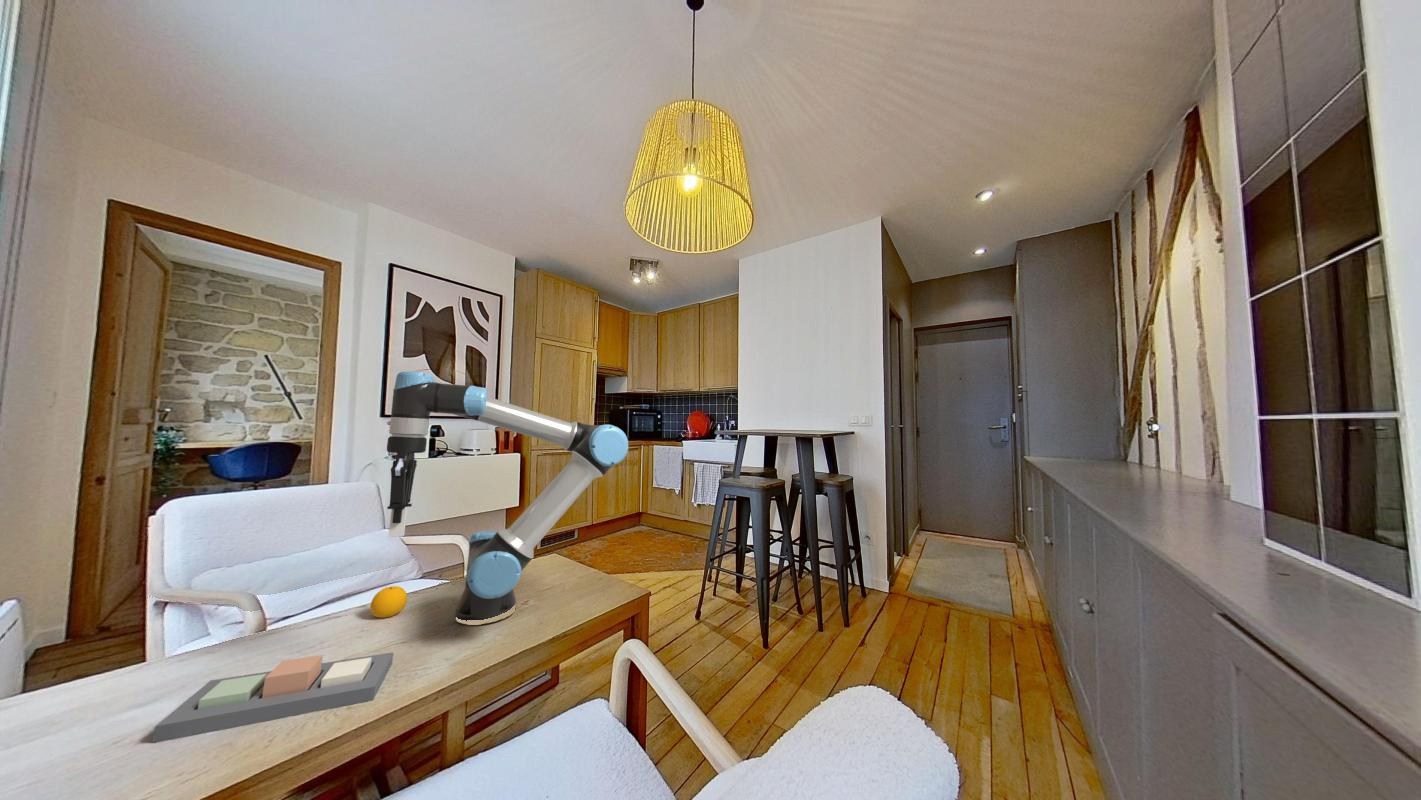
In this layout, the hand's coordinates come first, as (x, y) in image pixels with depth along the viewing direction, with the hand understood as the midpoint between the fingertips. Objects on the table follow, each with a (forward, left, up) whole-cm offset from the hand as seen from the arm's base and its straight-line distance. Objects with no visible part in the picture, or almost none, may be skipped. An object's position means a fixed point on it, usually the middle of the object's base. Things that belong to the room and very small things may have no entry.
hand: (396, 536), depth 94 cm
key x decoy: (+11, +12, -24) cm, 29 cm away
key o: (+19, +12, -26) cm, 35 cm away
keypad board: (+11, +12, -26) cm, 31 cm away
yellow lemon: (+4, -23, -27) cm, 36 cm away
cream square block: (+3, +12, -26) cm, 29 cm away
